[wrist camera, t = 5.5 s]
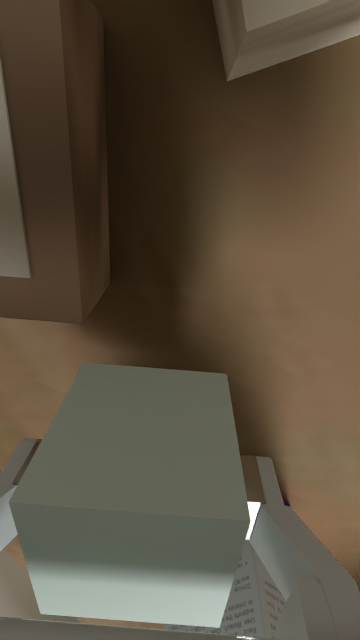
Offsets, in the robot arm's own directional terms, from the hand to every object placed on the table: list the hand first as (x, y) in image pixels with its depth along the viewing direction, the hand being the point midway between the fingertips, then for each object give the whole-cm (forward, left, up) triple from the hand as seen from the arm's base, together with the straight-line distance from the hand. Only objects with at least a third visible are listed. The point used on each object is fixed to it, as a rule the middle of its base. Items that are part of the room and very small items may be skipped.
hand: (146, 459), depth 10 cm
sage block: (0, 0, -2) cm, 2 cm away
